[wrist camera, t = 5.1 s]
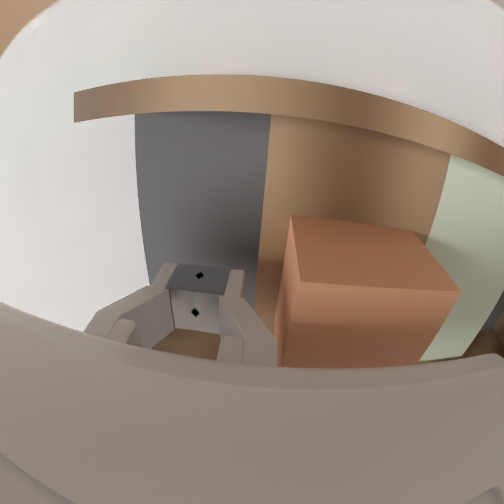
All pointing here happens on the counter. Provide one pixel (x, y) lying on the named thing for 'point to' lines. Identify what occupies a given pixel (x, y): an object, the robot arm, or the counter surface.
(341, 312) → the block
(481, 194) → the box
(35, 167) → the counter surface
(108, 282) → the counter surface
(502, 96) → the counter surface
